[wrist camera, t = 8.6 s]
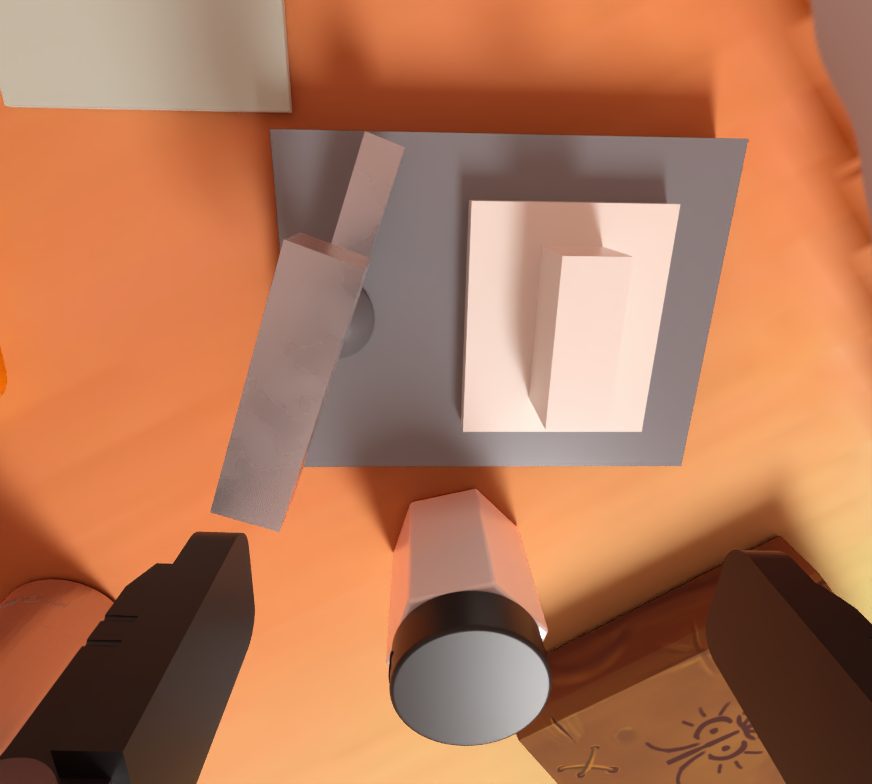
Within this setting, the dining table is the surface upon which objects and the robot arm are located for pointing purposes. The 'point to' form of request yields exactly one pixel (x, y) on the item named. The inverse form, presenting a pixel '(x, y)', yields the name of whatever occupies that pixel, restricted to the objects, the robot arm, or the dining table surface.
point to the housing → (446, 285)
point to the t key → (302, 346)
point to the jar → (464, 624)
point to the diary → (650, 700)
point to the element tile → (2, 375)
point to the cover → (562, 313)
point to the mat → (145, 55)
